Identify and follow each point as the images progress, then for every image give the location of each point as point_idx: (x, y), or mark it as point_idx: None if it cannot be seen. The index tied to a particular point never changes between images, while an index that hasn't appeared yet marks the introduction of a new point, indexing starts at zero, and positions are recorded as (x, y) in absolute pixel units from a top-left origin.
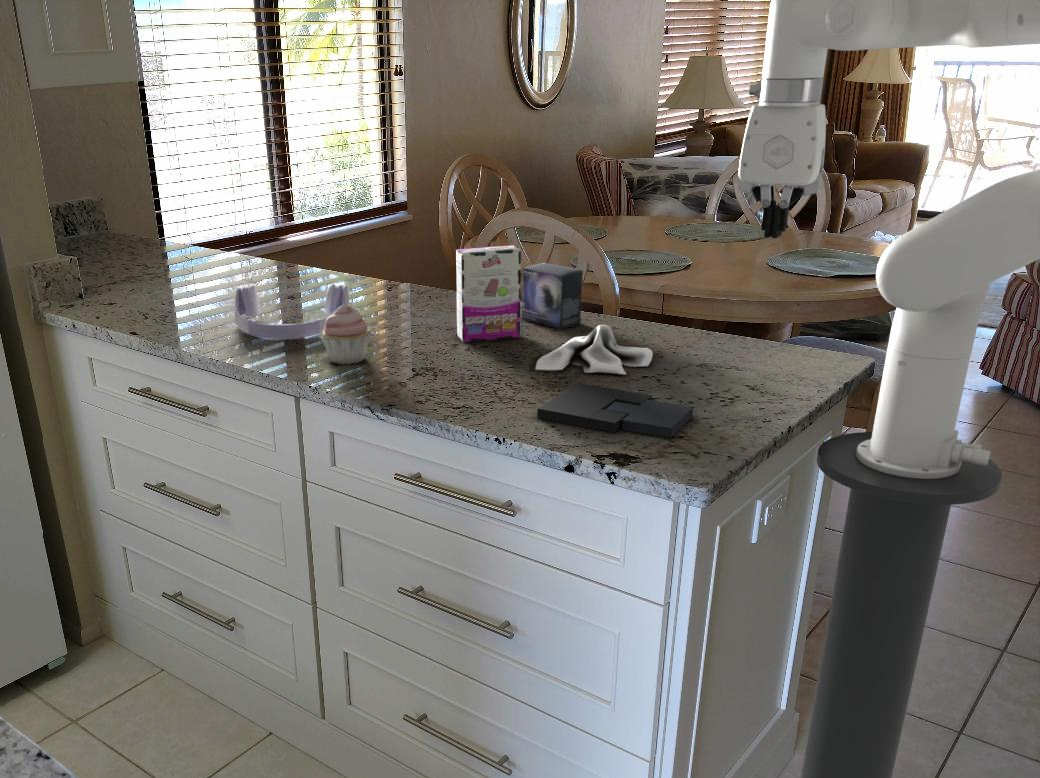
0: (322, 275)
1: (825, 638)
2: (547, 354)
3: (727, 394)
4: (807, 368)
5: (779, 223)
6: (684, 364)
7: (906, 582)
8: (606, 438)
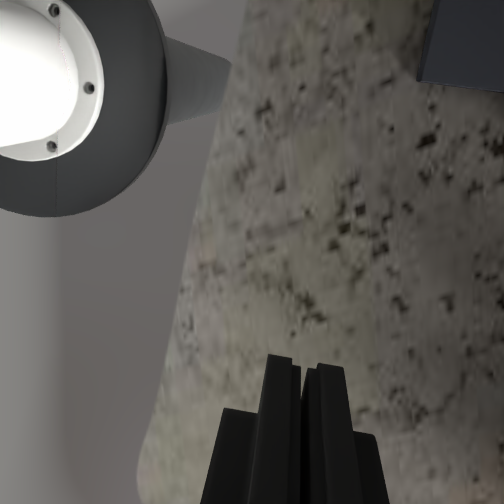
0: None
1: (189, 73)
2: None
3: (353, 255)
4: None
5: (252, 439)
6: (451, 414)
7: None
8: None
